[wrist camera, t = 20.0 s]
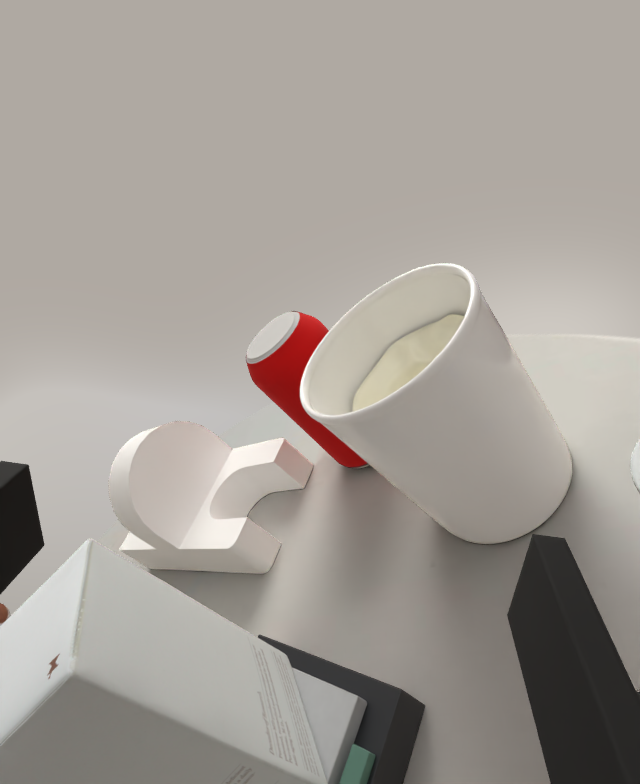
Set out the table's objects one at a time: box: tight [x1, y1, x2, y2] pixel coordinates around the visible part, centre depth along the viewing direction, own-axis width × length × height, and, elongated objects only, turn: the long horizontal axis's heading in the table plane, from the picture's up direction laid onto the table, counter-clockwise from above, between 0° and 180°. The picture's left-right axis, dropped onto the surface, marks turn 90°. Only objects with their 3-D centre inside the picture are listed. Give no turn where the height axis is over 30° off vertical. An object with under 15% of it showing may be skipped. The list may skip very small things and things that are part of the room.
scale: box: [258, 635, 425, 784], centre depth 24 cm, size 11×11×3 cm
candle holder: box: [300, 263, 572, 544], centre depth 27 cm, size 10×10×12 cm
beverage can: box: [246, 311, 369, 468], centre depth 37 cm, size 6×6×12 cm
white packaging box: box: [0, 538, 328, 784], centre depth 21 cm, size 7×7×13 cm
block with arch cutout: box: [108, 421, 313, 574], centre depth 43 cm, size 18×10×11 cm, turn 64°
